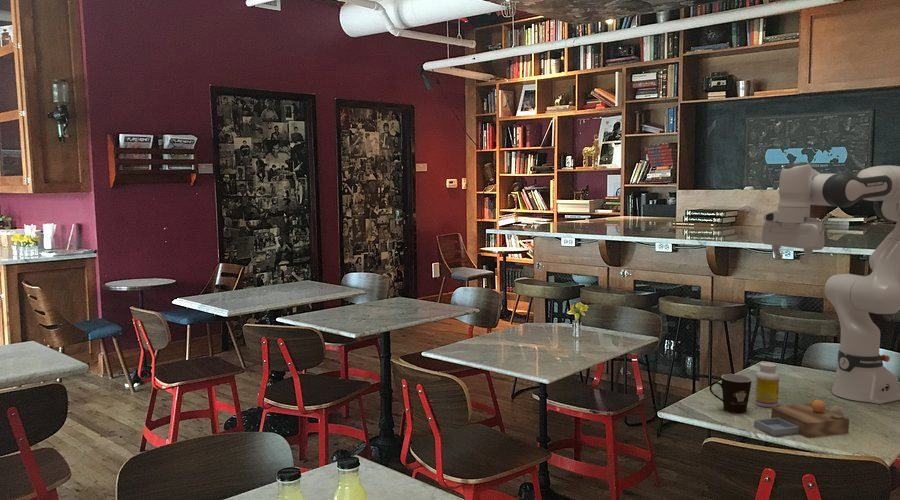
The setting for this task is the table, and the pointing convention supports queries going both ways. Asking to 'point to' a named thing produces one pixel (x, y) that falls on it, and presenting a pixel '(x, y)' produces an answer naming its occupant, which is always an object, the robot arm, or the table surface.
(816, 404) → the ball
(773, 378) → the supplement bottle
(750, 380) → the coffee mug
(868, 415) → the table surface
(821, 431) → the wooden cutting board
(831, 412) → the cream ball
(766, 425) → the dish
